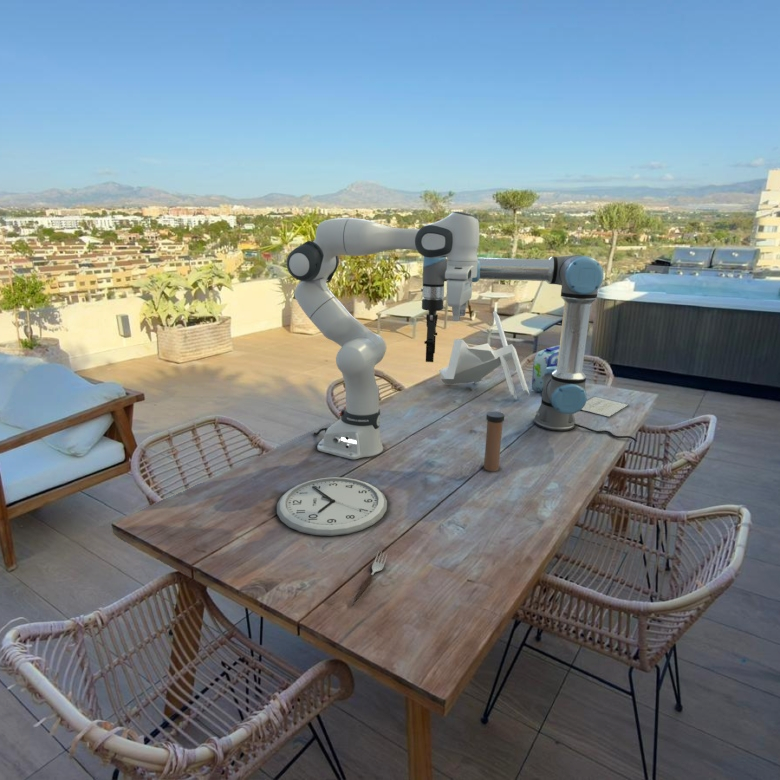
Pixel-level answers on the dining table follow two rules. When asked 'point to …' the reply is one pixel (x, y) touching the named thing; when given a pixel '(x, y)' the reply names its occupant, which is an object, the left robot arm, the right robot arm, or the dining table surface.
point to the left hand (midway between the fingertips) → (459, 318)
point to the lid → (495, 417)
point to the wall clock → (331, 506)
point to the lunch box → (543, 366)
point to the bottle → (493, 446)
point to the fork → (375, 568)
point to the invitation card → (603, 406)
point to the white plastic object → (482, 362)
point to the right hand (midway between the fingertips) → (430, 357)
